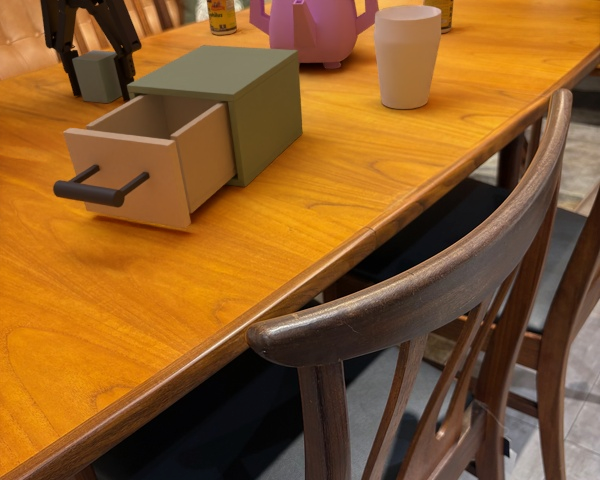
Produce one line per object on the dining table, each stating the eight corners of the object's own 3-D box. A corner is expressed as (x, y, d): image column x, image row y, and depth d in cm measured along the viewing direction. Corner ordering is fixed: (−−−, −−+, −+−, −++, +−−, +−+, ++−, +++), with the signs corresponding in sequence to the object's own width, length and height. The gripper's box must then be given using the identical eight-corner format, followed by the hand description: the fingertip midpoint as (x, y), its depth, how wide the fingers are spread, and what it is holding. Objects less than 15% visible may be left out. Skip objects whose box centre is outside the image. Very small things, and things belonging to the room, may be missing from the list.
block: (83, 101, 98) (71, 59, 94) (103, 90, 102) (92, 50, 98) (108, 103, 96) (97, 60, 92) (127, 93, 100) (118, 51, 96)
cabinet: (245, 187, 70) (233, 94, 63) (146, 172, 74) (126, 85, 68) (302, 133, 82) (297, 50, 75) (214, 123, 86) (203, 44, 80)
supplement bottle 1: (205, 34, 128) (197, -21, 122) (223, 27, 132) (216, -26, 126) (224, 36, 125) (217, -19, 119) (242, 30, 129) (236, -24, 123)
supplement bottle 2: (453, 33, 117) (458, -27, 111) (423, 35, 117) (427, -25, 111) (448, 26, 121) (453, -32, 115) (419, 28, 122) (422, -30, 115)
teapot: (325, 39, 119) (322, -49, 110) (390, 57, 107) (393, -41, 97) (242, 62, 110) (231, -32, 101) (302, 84, 98) (295, -21, 89)
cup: (391, 88, 94) (394, 2, 87) (446, 96, 89) (454, 7, 82) (361, 107, 88) (361, 17, 81) (418, 116, 84) (423, 23, 76)
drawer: (151, 259, 57) (130, 172, 52) (49, 238, 61) (19, 155, 56) (255, 165, 72) (246, 90, 67) (167, 153, 77) (152, 82, 71)
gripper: (145, -71, 84) (175, 93, 98) (24, -68, 92) (68, 83, 105) (111, -63, 79) (148, 109, 92) (-14, -60, 87) (37, 98, 100)
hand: (105, 95), depth 99 cm, fingers open, 9 cm apart
